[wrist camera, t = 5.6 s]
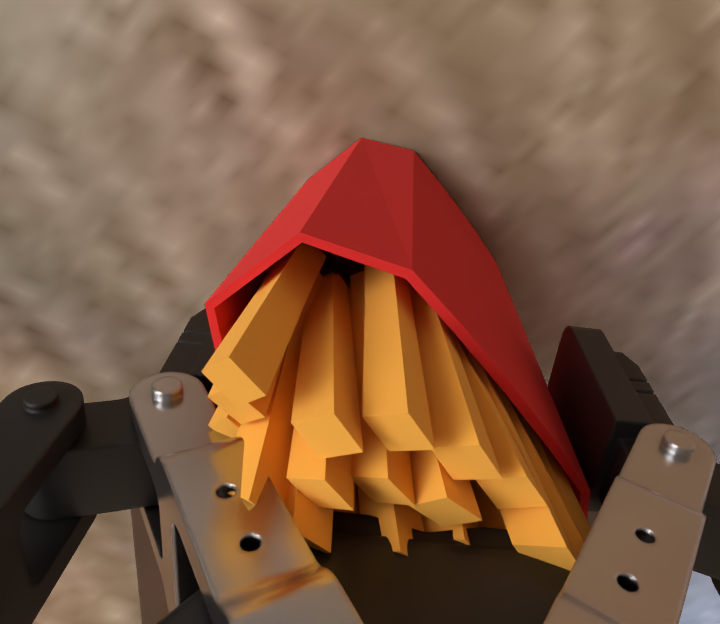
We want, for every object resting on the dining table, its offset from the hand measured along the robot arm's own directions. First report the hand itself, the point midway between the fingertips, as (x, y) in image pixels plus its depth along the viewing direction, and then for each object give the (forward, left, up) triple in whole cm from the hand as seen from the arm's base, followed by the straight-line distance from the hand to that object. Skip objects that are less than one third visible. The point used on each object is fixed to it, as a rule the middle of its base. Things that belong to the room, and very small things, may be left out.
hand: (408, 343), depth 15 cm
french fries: (0, 0, -6) cm, 6 cm away
